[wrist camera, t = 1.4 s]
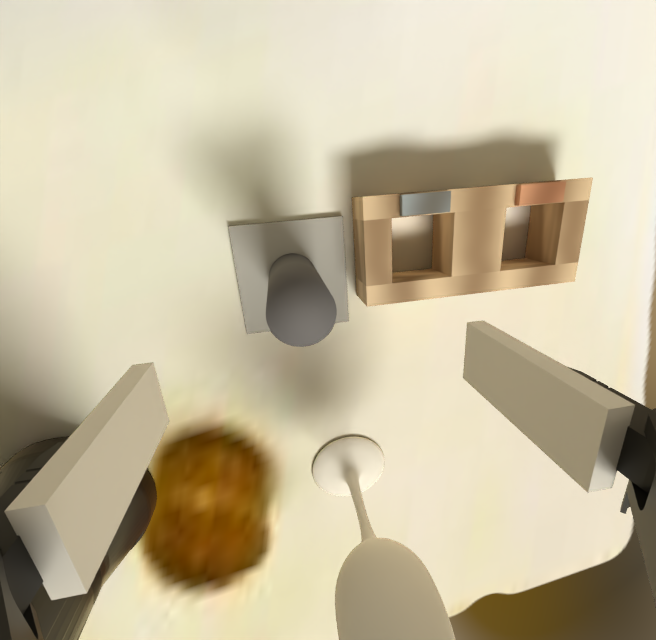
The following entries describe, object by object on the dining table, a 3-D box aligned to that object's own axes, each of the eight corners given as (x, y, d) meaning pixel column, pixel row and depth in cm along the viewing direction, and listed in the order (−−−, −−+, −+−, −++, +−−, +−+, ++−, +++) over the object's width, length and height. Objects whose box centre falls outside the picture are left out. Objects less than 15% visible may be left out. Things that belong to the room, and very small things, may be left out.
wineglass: (387, 433, 39) (501, 666, 19) (380, 491, 42) (472, 746, 22) (313, 437, 38) (355, 692, 18) (310, 497, 40) (344, 773, 21)
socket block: (356, 294, 33) (368, 308, 29) (351, 197, 30) (364, 196, 26) (542, 273, 35) (580, 282, 31) (555, 180, 32) (599, 176, 28)
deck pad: (247, 332, 33) (246, 334, 32) (228, 226, 29) (228, 226, 29) (348, 319, 34) (349, 321, 33) (341, 216, 30) (342, 216, 30)
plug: (272, 302, 32) (270, 350, 21) (265, 255, 30) (260, 283, 20) (318, 297, 32) (338, 341, 22) (314, 251, 30) (334, 275, 20)
